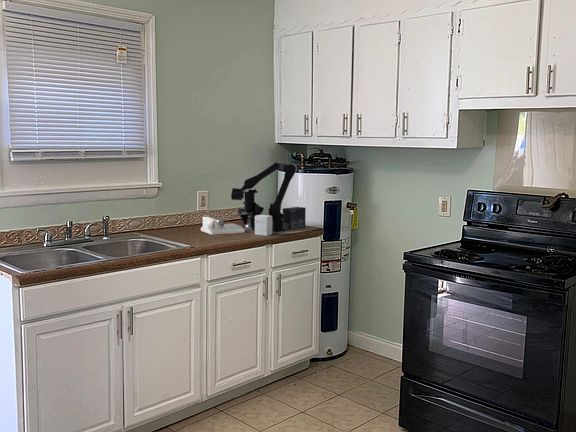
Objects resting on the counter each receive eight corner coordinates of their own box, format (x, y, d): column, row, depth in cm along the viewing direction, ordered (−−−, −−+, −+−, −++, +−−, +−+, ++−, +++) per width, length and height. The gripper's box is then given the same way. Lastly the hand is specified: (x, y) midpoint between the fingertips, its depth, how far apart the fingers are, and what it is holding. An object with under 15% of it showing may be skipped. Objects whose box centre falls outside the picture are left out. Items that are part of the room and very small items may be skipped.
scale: (244, 232, 335) (245, 218, 334) (209, 234, 324) (209, 220, 323) (233, 228, 348) (233, 214, 347) (198, 230, 337) (198, 216, 336)
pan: (242, 228, 336) (242, 226, 336) (222, 229, 330) (222, 227, 330) (232, 225, 346) (232, 223, 346) (213, 226, 340) (213, 224, 340)
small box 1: (272, 234, 330) (272, 215, 328) (266, 236, 325) (267, 216, 324) (260, 233, 334) (260, 214, 332) (254, 234, 329) (254, 215, 328)
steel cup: (255, 230, 345) (255, 224, 345) (247, 230, 343) (247, 225, 342) (251, 228, 350) (251, 223, 349) (243, 229, 347) (243, 224, 347)
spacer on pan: (225, 225, 338) (225, 220, 338) (217, 225, 336) (217, 220, 335) (221, 224, 342) (221, 218, 342) (213, 224, 340) (213, 219, 339)
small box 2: (297, 226, 363) (297, 206, 361) (305, 227, 358) (306, 207, 356) (281, 228, 353) (282, 208, 352) (290, 229, 348) (290, 209, 347)
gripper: (269, 201, 340) (269, 229, 342) (254, 198, 356) (254, 224, 358) (252, 202, 334) (251, 230, 336) (237, 199, 350) (237, 225, 352)
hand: (249, 227), depth 346 cm, fingers open, 9 cm apart
